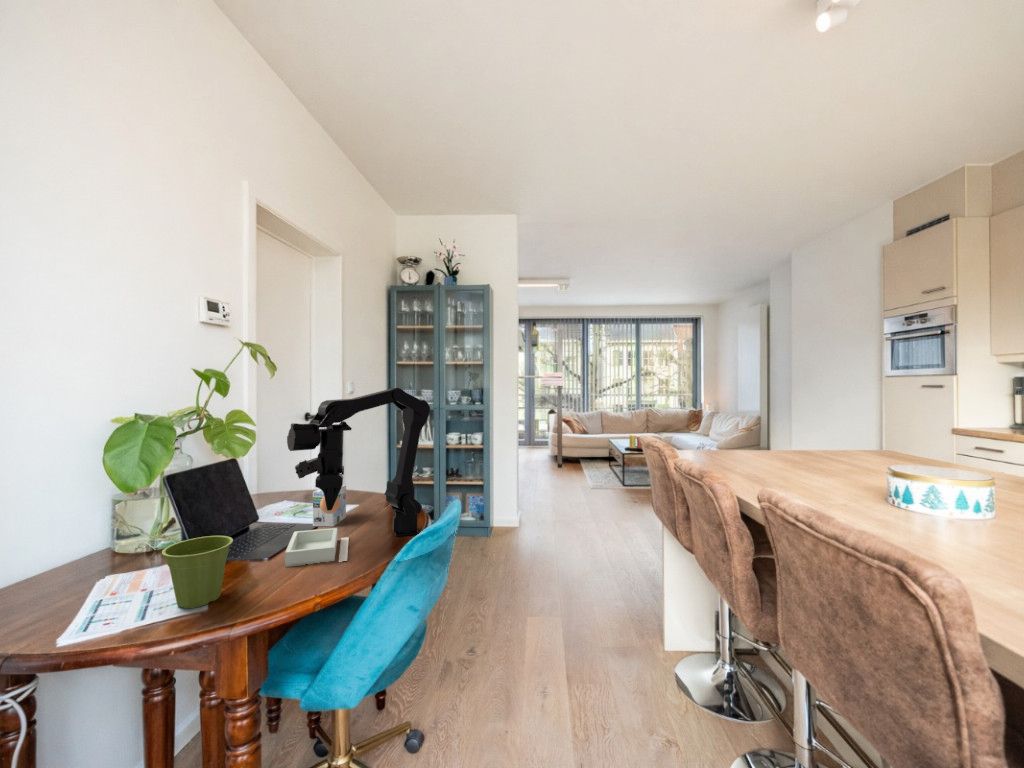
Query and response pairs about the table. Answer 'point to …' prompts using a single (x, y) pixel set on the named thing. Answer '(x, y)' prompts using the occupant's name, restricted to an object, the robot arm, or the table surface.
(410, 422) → the robot arm
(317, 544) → the tray
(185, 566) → the plant pot
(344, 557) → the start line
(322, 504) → the ball
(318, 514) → the light bulb box
